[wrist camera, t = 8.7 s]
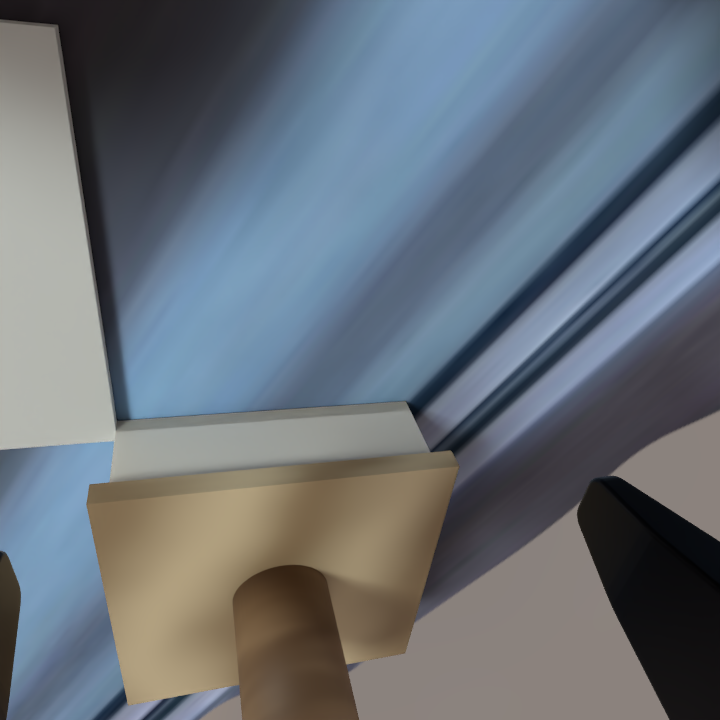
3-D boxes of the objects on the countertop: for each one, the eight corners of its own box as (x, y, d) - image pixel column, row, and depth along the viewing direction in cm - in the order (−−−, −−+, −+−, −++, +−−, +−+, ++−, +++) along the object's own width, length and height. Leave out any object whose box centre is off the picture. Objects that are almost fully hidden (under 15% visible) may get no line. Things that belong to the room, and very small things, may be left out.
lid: (451, 450, 21) (526, 591, 17) (399, 637, 28) (443, 774, 23) (89, 484, 18) (60, 670, 14) (129, 685, 25) (118, 855, 20)
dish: (405, 401, 24) (435, 461, 21) (371, 569, 30) (390, 632, 28) (116, 420, 21) (108, 493, 19) (143, 602, 27) (140, 677, 25)
